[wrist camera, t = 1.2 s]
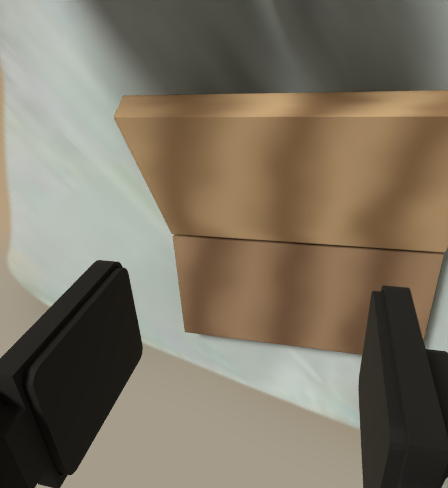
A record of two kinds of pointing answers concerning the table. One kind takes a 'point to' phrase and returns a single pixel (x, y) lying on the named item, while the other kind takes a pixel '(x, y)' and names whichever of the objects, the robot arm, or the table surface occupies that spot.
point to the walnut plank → (294, 289)
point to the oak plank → (297, 165)
